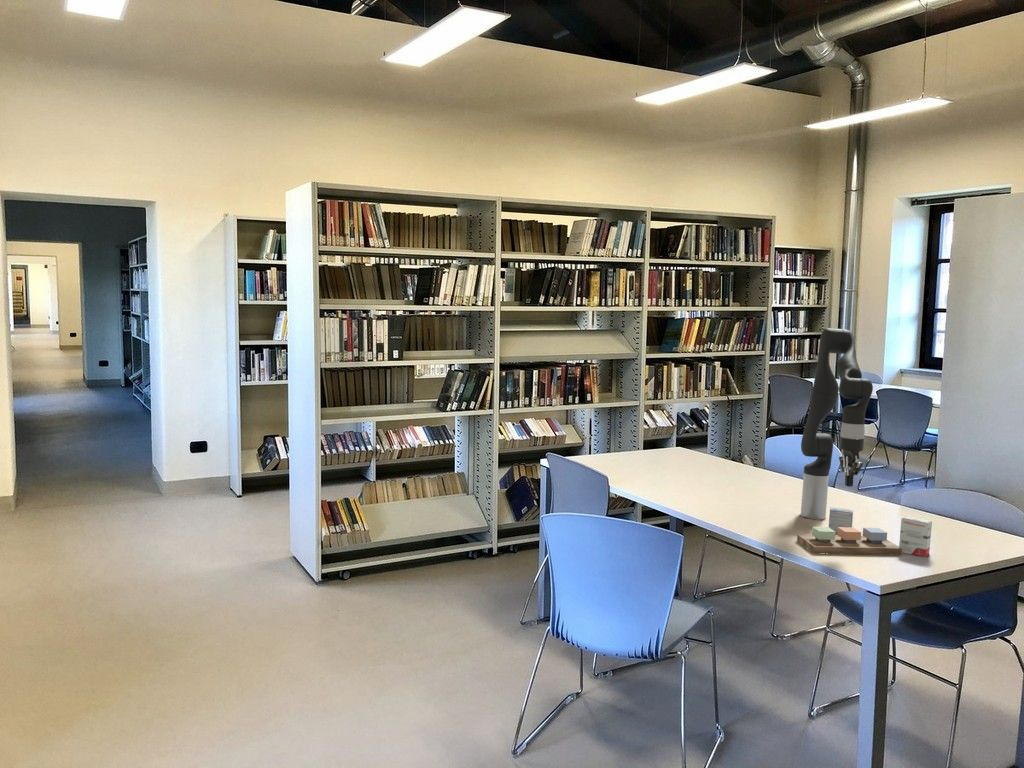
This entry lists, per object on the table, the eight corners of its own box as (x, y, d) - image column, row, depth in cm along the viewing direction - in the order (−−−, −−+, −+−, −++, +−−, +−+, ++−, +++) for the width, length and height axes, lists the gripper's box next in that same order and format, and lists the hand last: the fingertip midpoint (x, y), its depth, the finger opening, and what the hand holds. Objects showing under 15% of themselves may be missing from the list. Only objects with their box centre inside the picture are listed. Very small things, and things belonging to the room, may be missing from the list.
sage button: (811, 534, 273) (812, 526, 273) (827, 534, 273) (828, 526, 273) (818, 539, 267) (819, 531, 267) (834, 539, 268) (835, 531, 267)
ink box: (929, 554, 267) (932, 520, 266) (925, 557, 263) (928, 523, 262) (902, 548, 273) (905, 515, 272) (898, 551, 269) (901, 517, 268)
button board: (796, 541, 277) (797, 529, 277) (880, 542, 279) (881, 531, 278) (813, 553, 263) (814, 541, 263) (901, 555, 265) (902, 543, 264)
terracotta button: (837, 535, 273) (837, 527, 273) (852, 535, 274) (853, 527, 273) (844, 539, 268) (845, 531, 267) (860, 540, 268) (861, 532, 268)
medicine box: (851, 532, 291) (853, 509, 290) (851, 535, 287) (853, 512, 286) (828, 529, 294) (830, 506, 293) (828, 532, 290) (829, 509, 289)
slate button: (862, 535, 274) (863, 527, 273) (878, 535, 274) (878, 527, 274) (870, 540, 268) (871, 532, 268) (886, 540, 268) (887, 532, 268)
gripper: (832, 433, 277) (829, 481, 278) (850, 439, 264) (847, 490, 265) (853, 433, 277) (850, 482, 279) (872, 439, 264) (868, 490, 265)
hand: (848, 486), depth 272 cm, fingers closed
